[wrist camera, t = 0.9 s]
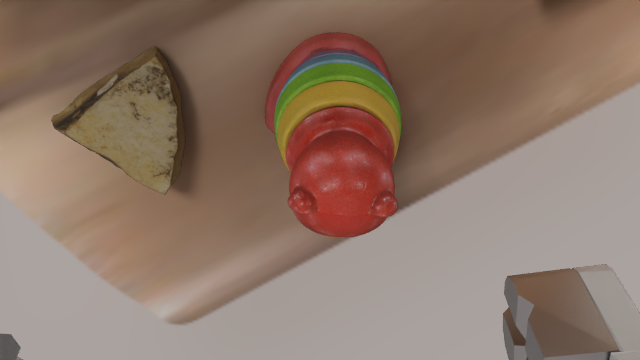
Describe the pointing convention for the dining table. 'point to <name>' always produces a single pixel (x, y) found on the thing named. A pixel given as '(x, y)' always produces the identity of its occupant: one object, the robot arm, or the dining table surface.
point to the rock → (132, 121)
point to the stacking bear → (336, 134)
